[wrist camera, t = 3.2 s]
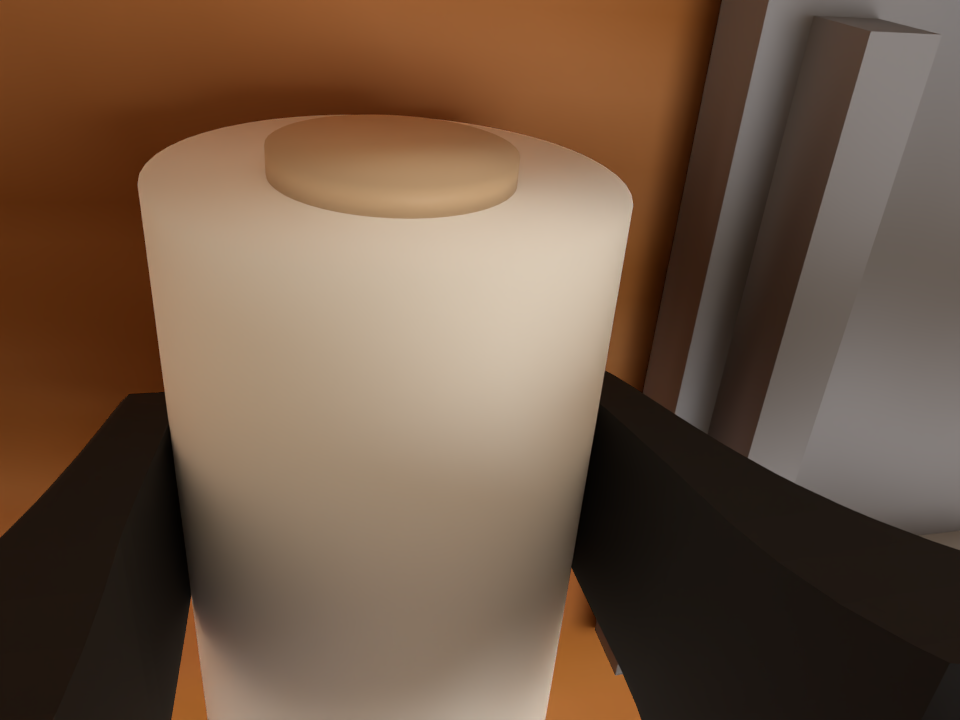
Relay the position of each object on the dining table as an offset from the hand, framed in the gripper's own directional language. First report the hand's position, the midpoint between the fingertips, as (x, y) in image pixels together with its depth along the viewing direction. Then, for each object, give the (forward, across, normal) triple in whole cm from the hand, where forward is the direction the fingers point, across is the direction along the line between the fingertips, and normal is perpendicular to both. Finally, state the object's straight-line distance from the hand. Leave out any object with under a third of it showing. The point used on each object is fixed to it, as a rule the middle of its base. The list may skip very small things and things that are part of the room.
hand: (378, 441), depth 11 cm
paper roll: (+2, 0, 0) cm, 2 cm away
